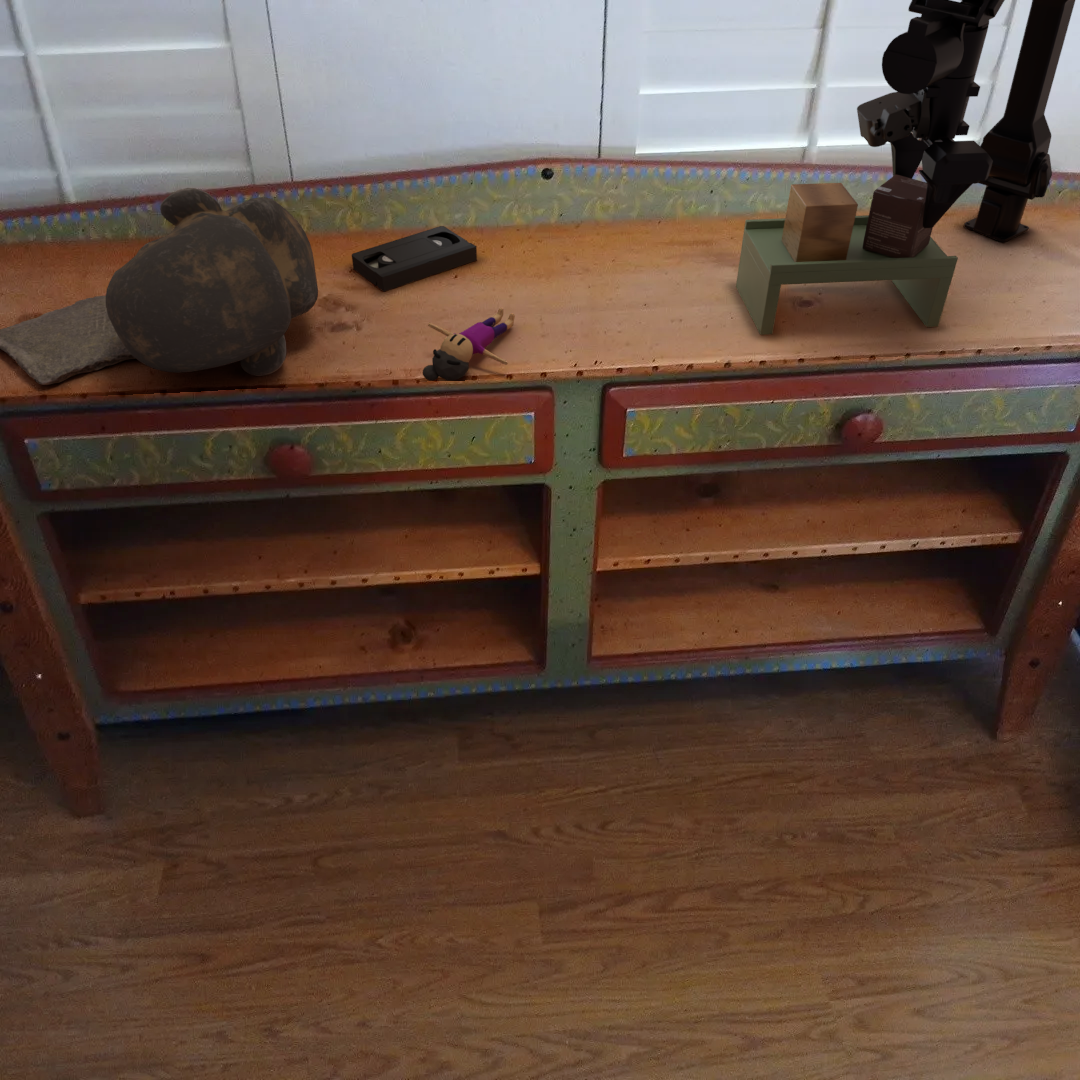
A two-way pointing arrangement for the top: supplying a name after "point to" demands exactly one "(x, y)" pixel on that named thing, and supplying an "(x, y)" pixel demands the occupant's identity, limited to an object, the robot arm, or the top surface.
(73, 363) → the stone
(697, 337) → the top surface
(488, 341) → the toy
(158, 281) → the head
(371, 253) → the vhs tape
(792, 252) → the wooden block
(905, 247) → the box
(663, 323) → the top surface
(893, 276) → the shelf
